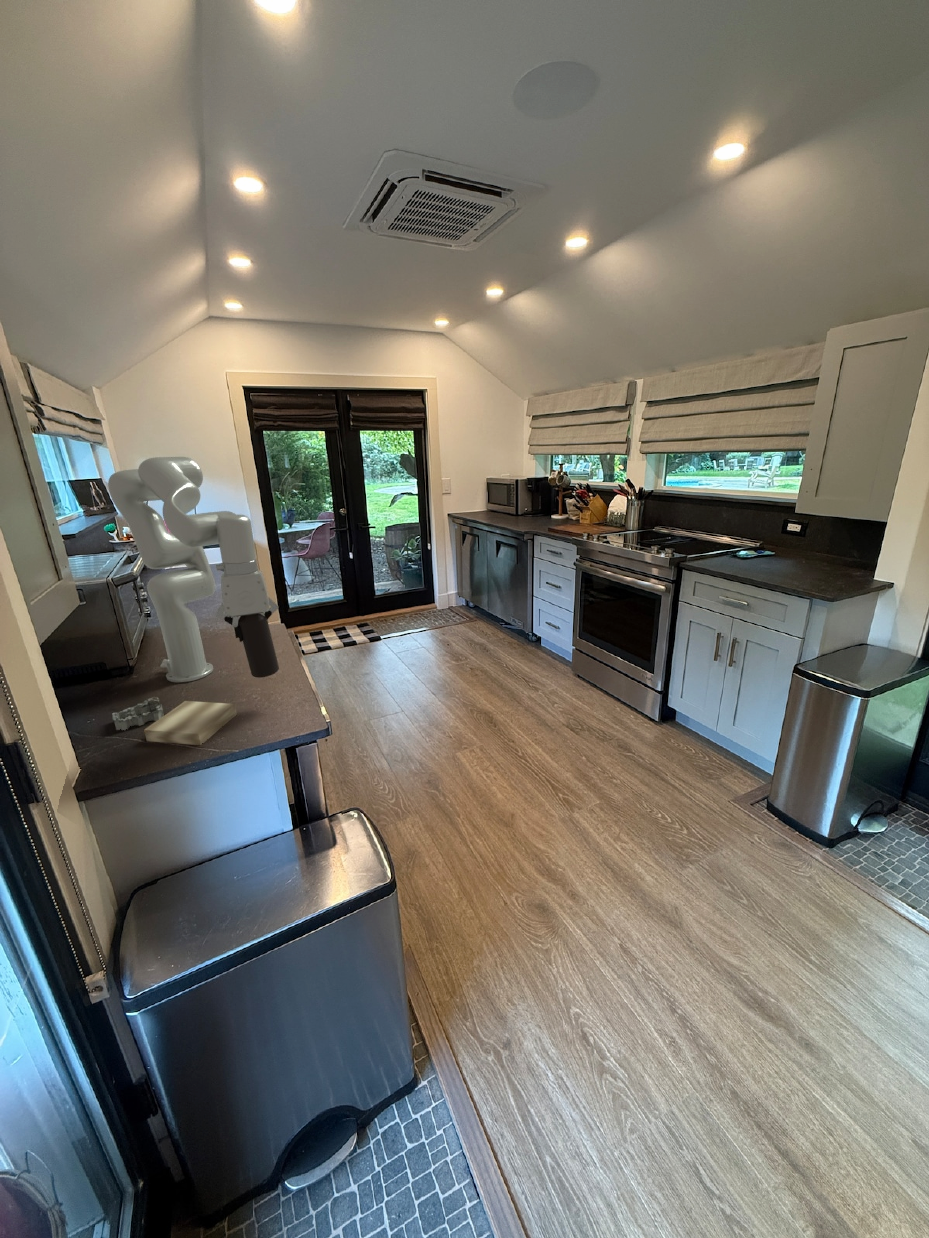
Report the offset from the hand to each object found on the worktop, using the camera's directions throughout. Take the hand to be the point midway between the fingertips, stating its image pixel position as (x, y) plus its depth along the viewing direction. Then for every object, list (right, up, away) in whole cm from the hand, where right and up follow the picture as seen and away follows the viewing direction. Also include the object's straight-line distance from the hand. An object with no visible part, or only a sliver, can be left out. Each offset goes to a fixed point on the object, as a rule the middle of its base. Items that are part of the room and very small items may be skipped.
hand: (251, 637), depth 123 cm
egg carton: (-29, -21, +1) cm, 36 cm away
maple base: (-13, -22, -3) cm, 25 cm away
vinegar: (+2, -9, +4) cm, 10 cm away
